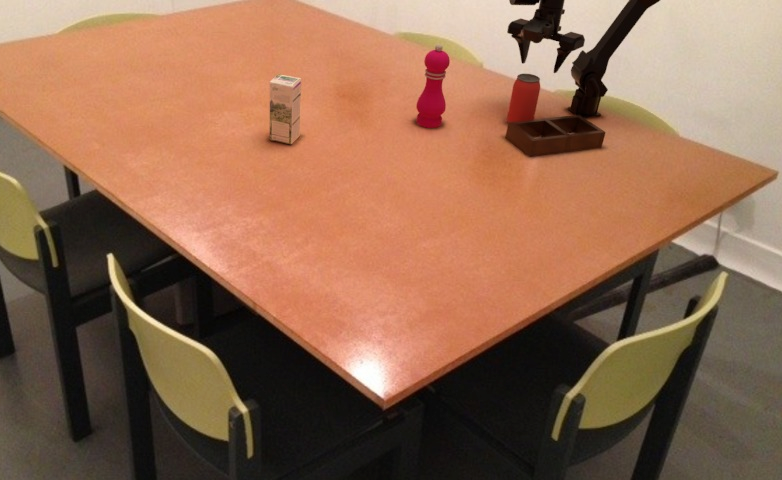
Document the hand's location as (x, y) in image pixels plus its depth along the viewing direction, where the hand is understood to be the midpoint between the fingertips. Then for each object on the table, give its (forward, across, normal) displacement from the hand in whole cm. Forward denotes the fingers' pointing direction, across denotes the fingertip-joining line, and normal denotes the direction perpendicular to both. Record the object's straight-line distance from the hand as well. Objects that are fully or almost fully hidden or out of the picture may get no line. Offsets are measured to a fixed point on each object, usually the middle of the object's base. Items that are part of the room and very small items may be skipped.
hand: (539, 67), depth 196 cm
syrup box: (+11, -31, -60) cm, 69 cm away
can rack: (+12, +14, -12) cm, 22 cm away
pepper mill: (+12, -14, -26) cm, 32 cm away
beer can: (+12, +2, -8) cm, 15 cm away
